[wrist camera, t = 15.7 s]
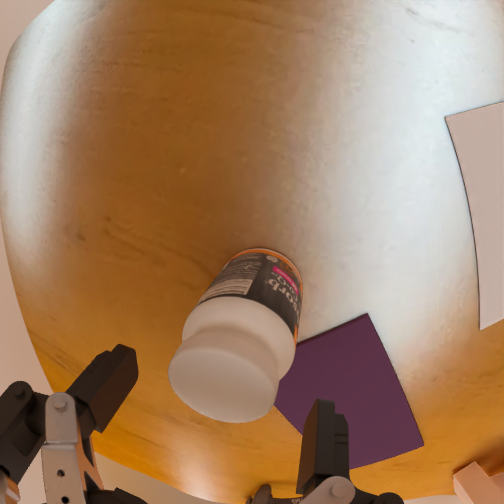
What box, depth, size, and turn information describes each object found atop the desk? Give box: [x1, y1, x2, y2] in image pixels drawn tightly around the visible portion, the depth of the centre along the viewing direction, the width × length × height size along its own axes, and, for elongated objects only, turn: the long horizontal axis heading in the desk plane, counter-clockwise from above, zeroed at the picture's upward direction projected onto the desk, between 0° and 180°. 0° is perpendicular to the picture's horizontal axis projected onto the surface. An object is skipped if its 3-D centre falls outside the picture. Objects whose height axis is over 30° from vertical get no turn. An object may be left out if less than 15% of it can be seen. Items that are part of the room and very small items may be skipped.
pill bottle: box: [168, 248, 303, 423], centre depth 16 cm, size 6×6×10 cm
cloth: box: [274, 314, 424, 470], centre depth 23 cm, size 22×11×1 cm, turn 34°
